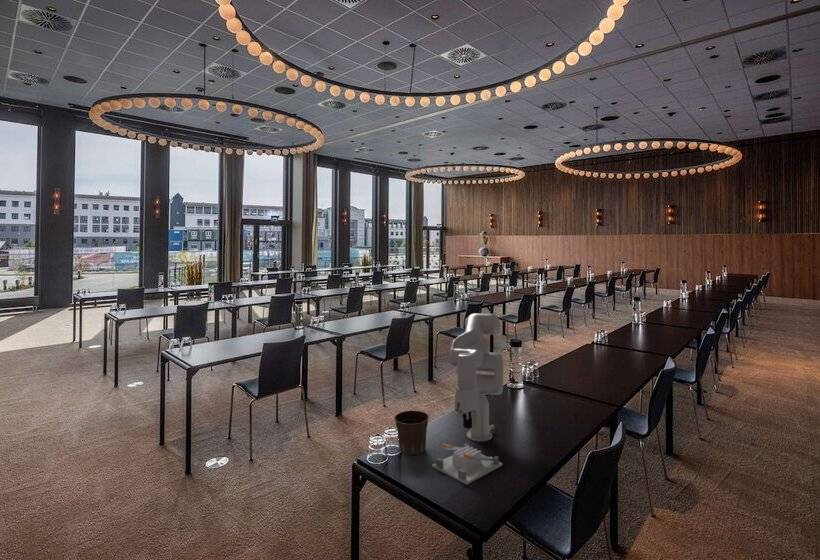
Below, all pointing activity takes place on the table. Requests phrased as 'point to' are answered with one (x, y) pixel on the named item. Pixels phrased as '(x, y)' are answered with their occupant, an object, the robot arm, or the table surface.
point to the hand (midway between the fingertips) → (467, 427)
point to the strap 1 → (450, 447)
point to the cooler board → (468, 473)
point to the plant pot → (412, 431)
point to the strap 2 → (471, 457)
